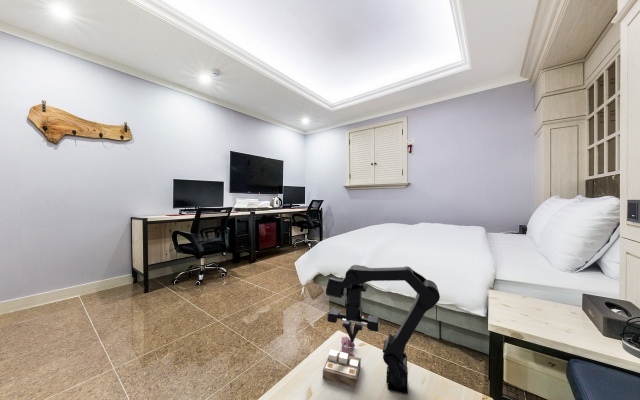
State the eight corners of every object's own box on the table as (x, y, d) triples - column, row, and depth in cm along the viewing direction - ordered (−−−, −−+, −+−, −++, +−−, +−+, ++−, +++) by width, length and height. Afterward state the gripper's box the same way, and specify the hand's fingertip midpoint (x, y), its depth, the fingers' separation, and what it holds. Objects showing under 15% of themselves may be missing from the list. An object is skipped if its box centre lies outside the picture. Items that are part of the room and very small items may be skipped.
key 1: (338, 357, 88) (338, 351, 88) (336, 362, 85) (336, 356, 85) (330, 355, 89) (330, 349, 89) (328, 360, 86) (328, 354, 86)
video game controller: (345, 349, 99) (339, 334, 99) (355, 345, 98) (348, 330, 99) (346, 366, 89) (338, 349, 89) (357, 361, 88) (349, 345, 89)
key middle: (348, 360, 87) (348, 353, 87) (346, 365, 84) (346, 359, 84) (340, 358, 88) (340, 351, 88) (338, 363, 85) (338, 357, 85)
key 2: (358, 367, 86) (358, 360, 86) (357, 373, 83) (357, 366, 83) (350, 365, 87) (350, 358, 86) (349, 371, 84) (349, 364, 84)
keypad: (360, 365, 87) (360, 357, 87) (356, 387, 77) (356, 378, 77) (330, 358, 91) (330, 350, 91) (322, 378, 81) (322, 369, 81)
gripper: (380, 295, 89) (379, 334, 89) (335, 288, 95) (333, 324, 95) (378, 308, 79) (377, 352, 79) (327, 299, 84) (326, 340, 85)
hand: (352, 341), depth 85 cm, fingers closed
